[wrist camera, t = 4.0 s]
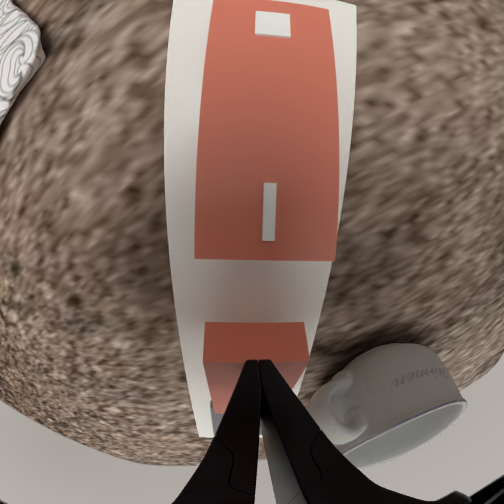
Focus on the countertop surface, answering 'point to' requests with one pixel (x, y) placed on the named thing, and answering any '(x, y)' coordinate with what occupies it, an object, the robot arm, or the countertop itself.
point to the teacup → (387, 403)
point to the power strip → (183, 208)
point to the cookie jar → (17, 53)
